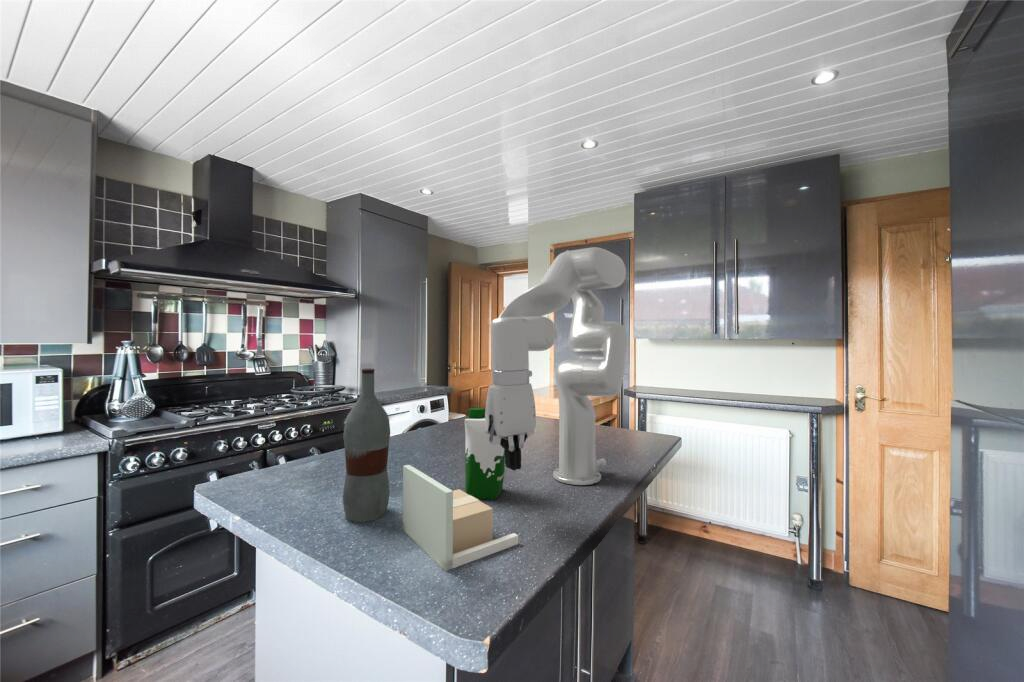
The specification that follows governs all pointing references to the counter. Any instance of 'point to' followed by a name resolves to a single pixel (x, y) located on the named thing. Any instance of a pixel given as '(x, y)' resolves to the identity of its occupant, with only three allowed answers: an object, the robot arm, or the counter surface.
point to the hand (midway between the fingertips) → (513, 467)
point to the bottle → (366, 456)
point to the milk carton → (482, 458)
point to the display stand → (439, 521)
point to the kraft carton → (470, 522)
